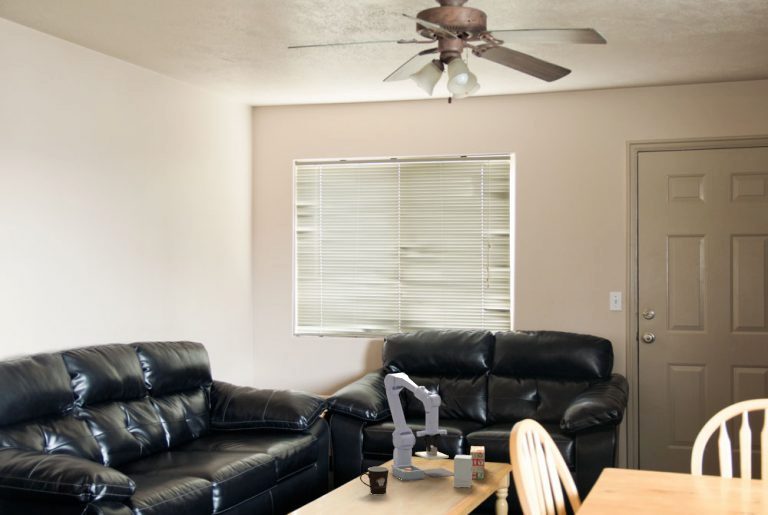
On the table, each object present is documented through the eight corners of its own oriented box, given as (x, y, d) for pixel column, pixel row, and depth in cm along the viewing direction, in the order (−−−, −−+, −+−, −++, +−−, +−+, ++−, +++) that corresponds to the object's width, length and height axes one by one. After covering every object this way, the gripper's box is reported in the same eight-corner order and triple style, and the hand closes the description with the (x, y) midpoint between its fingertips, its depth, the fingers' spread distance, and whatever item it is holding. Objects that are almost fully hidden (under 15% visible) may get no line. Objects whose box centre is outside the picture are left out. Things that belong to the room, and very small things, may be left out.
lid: (415, 455, 410) (415, 444, 410) (435, 453, 415) (435, 443, 415) (427, 461, 399) (427, 450, 399) (448, 459, 403) (448, 448, 403)
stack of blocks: (471, 468, 419) (471, 442, 420) (484, 468, 419) (484, 442, 419) (469, 479, 398) (470, 451, 398) (484, 479, 397) (484, 451, 398)
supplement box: (470, 488, 381) (470, 458, 381) (453, 487, 382) (453, 457, 383) (472, 484, 388) (472, 455, 388) (455, 483, 390) (455, 454, 390)
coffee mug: (389, 490, 376) (389, 466, 376) (387, 495, 367) (387, 471, 368) (362, 489, 377) (362, 466, 377) (359, 495, 369) (359, 470, 369)
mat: (419, 471, 412) (419, 470, 412) (442, 468, 417) (442, 468, 417) (433, 477, 400) (433, 476, 400) (456, 475, 405) (456, 474, 405)
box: (392, 475, 403) (392, 466, 403) (412, 473, 408) (412, 464, 408) (404, 481, 392) (404, 472, 393) (424, 479, 397) (424, 470, 397)
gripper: (421, 423, 400) (421, 454, 400) (450, 421, 406) (450, 451, 406) (414, 421, 407) (414, 451, 407) (443, 419, 413) (442, 448, 412)
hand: (431, 451), depth 407 cm, fingers closed on lid, 2 cm apart
